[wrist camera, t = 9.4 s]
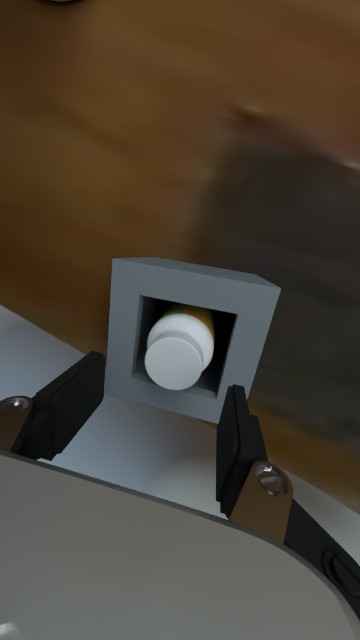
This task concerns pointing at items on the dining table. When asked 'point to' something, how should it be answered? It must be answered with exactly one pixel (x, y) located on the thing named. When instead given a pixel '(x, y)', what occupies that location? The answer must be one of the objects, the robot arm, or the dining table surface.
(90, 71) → the dining table surface
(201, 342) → the supplement bottle
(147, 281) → the box
